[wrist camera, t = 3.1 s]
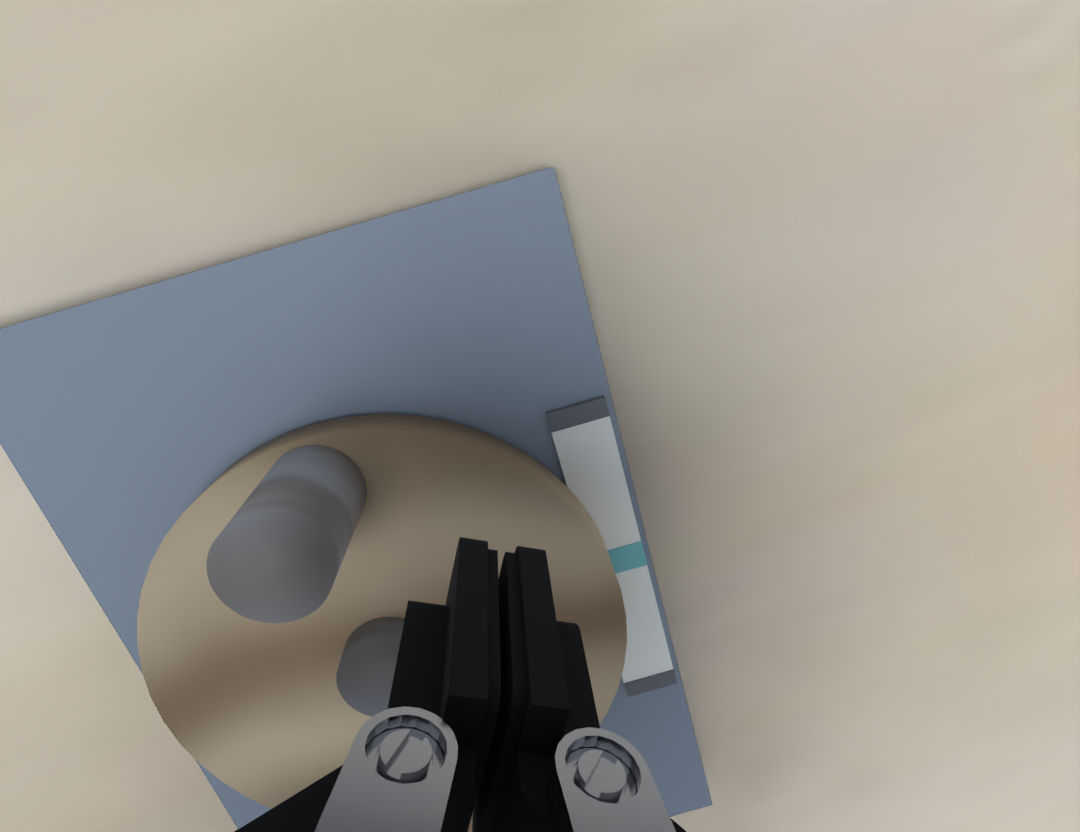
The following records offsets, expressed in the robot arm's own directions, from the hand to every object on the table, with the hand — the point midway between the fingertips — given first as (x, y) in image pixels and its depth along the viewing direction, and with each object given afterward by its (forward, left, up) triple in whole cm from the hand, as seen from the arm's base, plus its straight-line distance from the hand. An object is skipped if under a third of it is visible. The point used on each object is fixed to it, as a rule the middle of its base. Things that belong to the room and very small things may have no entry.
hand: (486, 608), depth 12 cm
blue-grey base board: (-5, +4, -9) cm, 11 cm away
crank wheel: (-5, +4, -8) cm, 10 cm away
